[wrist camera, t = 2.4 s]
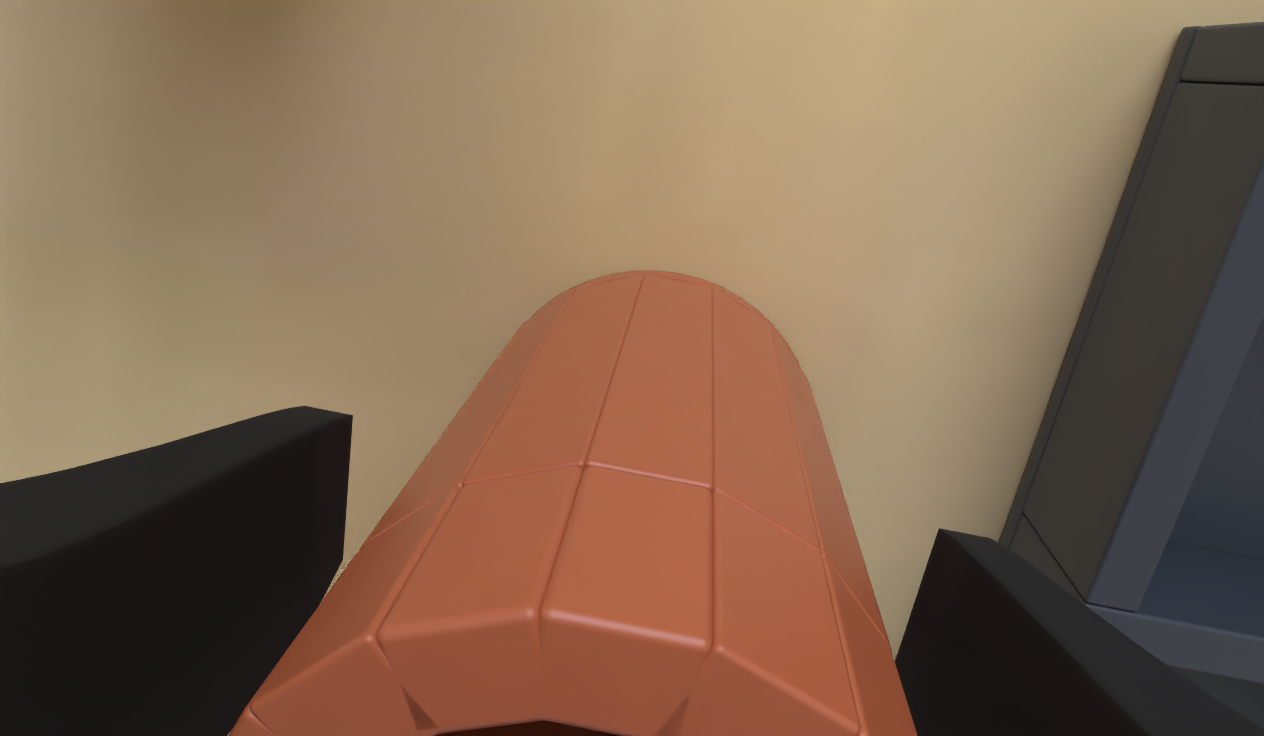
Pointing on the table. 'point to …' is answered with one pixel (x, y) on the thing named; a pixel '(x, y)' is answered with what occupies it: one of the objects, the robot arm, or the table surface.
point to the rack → (1170, 390)
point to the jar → (609, 549)
